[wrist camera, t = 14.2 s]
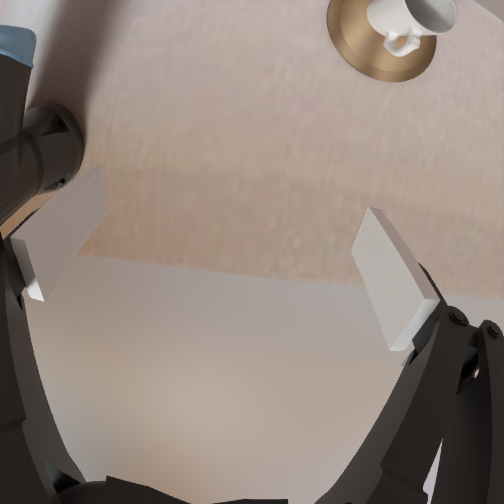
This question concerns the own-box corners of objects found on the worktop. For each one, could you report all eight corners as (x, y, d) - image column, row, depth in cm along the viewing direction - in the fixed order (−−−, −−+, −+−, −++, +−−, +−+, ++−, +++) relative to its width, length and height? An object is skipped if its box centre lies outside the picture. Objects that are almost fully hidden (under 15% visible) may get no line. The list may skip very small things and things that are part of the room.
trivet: (315, 58, 32) (316, 58, 31) (338, -37, 23) (340, -39, 22) (419, 98, 33) (422, 99, 32) (440, 9, 24) (444, 9, 23)
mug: (370, -12, 24) (409, -35, 14) (414, 10, 25) (462, -1, 15) (352, 46, 30) (387, 39, 20) (396, 67, 30) (443, 71, 20)
